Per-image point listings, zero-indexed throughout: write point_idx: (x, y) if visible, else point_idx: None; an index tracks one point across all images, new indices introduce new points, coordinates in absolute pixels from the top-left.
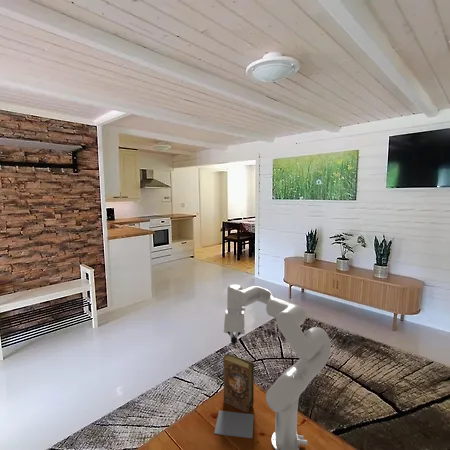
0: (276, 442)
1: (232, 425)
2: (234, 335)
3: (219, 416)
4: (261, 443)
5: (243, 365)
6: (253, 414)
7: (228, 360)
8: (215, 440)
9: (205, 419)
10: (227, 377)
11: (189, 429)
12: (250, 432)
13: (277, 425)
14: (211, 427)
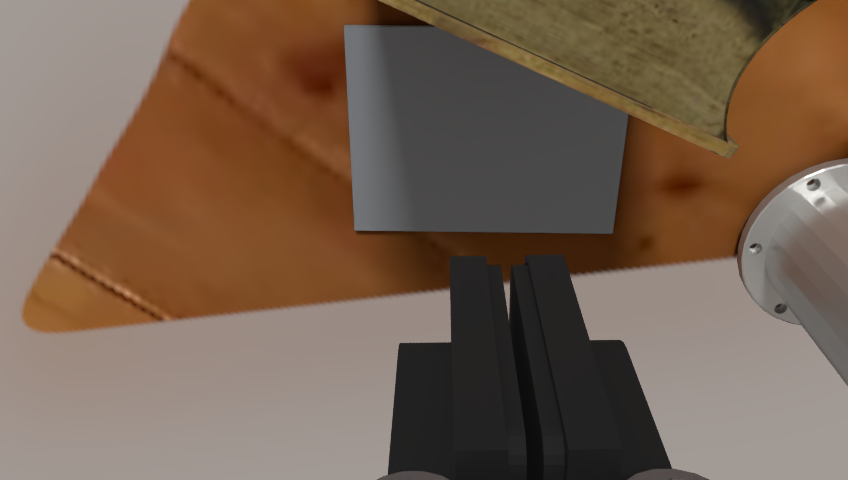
0: (773, 283)
1: (471, 157)
2: (544, 476)
3: (359, 89)
4: (668, 253)
5: (646, 75)
6: None
7: None
8: (374, 267)
9: (260, 120)
10: None
11: (182, 214)
12: (602, 196)
13: (835, 367)
14: (323, 181)
